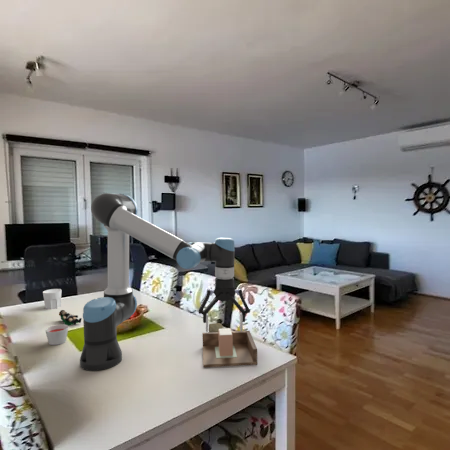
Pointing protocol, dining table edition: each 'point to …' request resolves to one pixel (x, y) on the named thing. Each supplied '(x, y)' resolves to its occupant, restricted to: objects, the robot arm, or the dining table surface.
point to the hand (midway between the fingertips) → (224, 330)
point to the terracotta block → (225, 342)
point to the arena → (243, 349)
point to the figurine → (69, 318)
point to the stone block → (215, 327)
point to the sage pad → (225, 356)
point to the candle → (57, 334)
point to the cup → (52, 298)
